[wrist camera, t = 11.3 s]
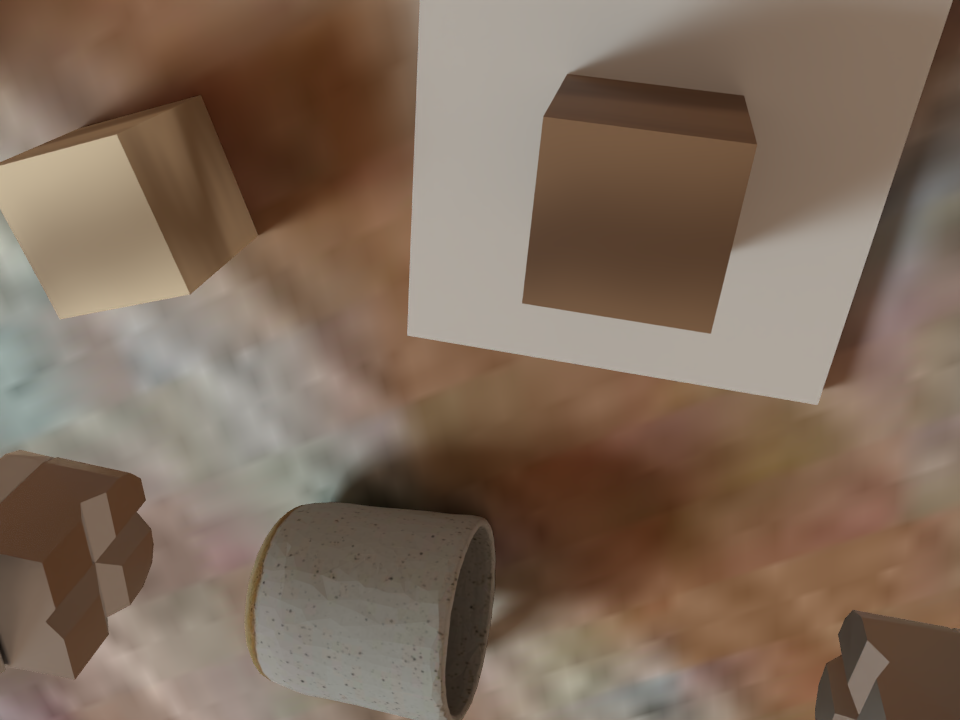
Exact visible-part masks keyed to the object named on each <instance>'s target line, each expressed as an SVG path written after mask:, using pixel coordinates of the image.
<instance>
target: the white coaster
mask: <svg viewBox="0 0 960 720" xmlns="http://www.w3.org/2000/svg"><path fill="white" fill-rule="evenodd" d="M952 1H953V0H420V11H419V37H418V64H417V91H416V117H415V144H414V170H413V197H412V223H411V250H410V276H409V303H408V329H407V335H408V336H414V337H420V338H426V339H431V340H437V341H443V342H449V343H455V344H461V345H467V346H473V347H479V348H485V349H490V350H496V351H502V352H508V353H514V354H520V355H526V356H532V357H538V358H544V359H550V360H555V361H561V362H567V363H573V364H579V365H585V366H591V367H597V368H603V369H609V370H614V371H620V372H626V373H632V374H638V375H644V376H650V377H656V378H662V379H668V380H674V381H679V382H685V383H691V384H697V385H703V386H709V387H715V388H721V389H727V390H733V391H738V392H744V393H750V394H756V395H762V396H768V397H774V398H780V399H786V400H792V401H797V402H803V403H809V404H815V405H818V402H819V399H820V396H821V393H822V390H823V387H824V384H825V381H826V378H827V375H828V372H829V369H830V366H831V363H832V360H833V357H834V354H835V351H836V348H837V345H838V342H839V339H840V336H841V333H842V330H843V327H844V324H845V321H846V318H847V315H848V312H849V309H850V306H851V303H852V300H853V297H854V294H855V291H856V288H857V285H858V282H859V279H860V276H861V274H862V271H863V268H864V265H865V262H866V259H867V256H868V253H869V250H870V247H871V244H872V241H873V238H874V235H875V232H876V229H877V226H878V223H879V220H880V217H881V214H882V211H883V208H884V205H885V202H886V199H887V196H888V193H889V190H890V187H891V184H892V181H893V178H894V175H895V172H896V169H897V166H898V163H899V160H900V157H901V154H902V151H903V148H904V145H905V142H906V139H907V136H908V133H909V130H910V127H911V124H912V121H913V118H914V115H915V112H916V109H917V106H918V103H919V100H920V97H921V94H922V91H923V88H924V85H925V82H926V79H927V76H928V73H929V70H930V67H931V64H932V61H933V58H934V55H935V52H936V49H937V46H938V43H939V40H940V37H941V34H942V31H943V28H944V25H945V22H946V19H947V16H948V13H949V10H950V7H951V4H952ZM567 74H573V75H581V76H589V77H597V78H606V79H614V80H622V81H630V82H638V83H646V84H654V85H662V86H670V87H678V88H687V89H695V90H703V91H711V92H719V93H727V94H735V95H743V96H744V97H745V101H746V104H747V108H748V112H749V116H750V119H751V123H752V127H753V130H754V134H755V138H756V142H757V148H756V152H755V156H754V160H753V164H752V168H751V172H750V176H749V181H748V185H747V189H746V193H745V197H744V201H743V205H742V209H741V213H740V217H739V221H738V225H737V230H736V234H735V238H734V242H733V246H732V250H731V254H730V258H729V262H728V266H727V270H726V274H725V278H724V283H723V287H722V291H721V295H720V299H719V303H718V307H717V311H716V315H715V319H714V323H713V327H712V332H711V334H709V333H702V332H696V331H690V330H684V329H678V328H671V327H665V326H659V325H653V324H647V323H640V322H634V321H628V320H622V319H616V318H609V317H603V316H597V315H591V314H584V313H578V312H572V311H566V310H560V309H553V308H547V307H541V306H535V305H529V304H522V299H523V290H524V281H525V272H526V264H527V255H528V246H529V237H530V228H531V220H532V211H533V202H534V193H535V184H536V176H537V167H538V158H539V149H540V140H541V132H542V123H543V116H544V114H545V113H546V111H547V109H548V107H549V105H550V104H551V102H552V100H553V98H554V97H555V95H556V93H557V91H558V89H559V88H560V86H561V84H562V82H563V80H564V79H565V77H566V75H567Z"/></svg>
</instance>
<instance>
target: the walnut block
mask: <svg viewBox="0 0 960 720" xmlns="http://www.w3.org/2000/svg"><path fill="white" fill-rule="evenodd" d="M756 148H757V142H756V138H755V134H754V130H753V127H752V123H751V119H750V116H749V112H748V108H747V104H746V101H745V97H744V96H743V95H735V94H727V93H719V92H711V91H703V90H695V89H687V88H678V87H670V86H662V85H654V84H646V83H638V82H630V81H622V80H614V79H606V78H597V77H589V76H581V75H573V74H567V75H566V77H565V79H564V80H563V82H562V84H561V86H560V88H559V89H558V91H557V93H556V95H555V97H554V98H553V100H552V102H551V104H550V105H549V107H548V109H547V111H546V113H545V114H544V116H543V123H542V132H541V140H540V149H539V158H538V167H537V176H536V184H535V193H534V202H533V211H532V220H531V228H530V237H529V246H528V255H527V264H526V272H525V281H524V290H523V299H522V304H529V305H535V306H541V307H547V308H553V309H560V310H566V311H572V312H578V313H584V314H591V315H597V316H603V317H609V318H616V319H622V320H628V321H634V322H640V323H647V324H653V325H659V326H665V327H671V328H678V329H684V330H690V331H696V332H702V333H709V334H711V332H712V327H713V323H714V319H715V315H716V311H717V307H718V303H719V299H720V295H721V291H722V287H723V283H724V278H725V274H726V270H727V266H728V262H729V258H730V254H731V250H732V246H733V242H734V238H735V234H736V230H737V225H738V221H739V217H740V213H741V209H742V205H743V201H744V197H745V193H746V189H747V185H748V181H749V176H750V172H751V168H752V164H753V160H754V156H755V152H756Z"/></svg>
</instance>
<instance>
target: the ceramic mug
mask: <svg viewBox="0 0 960 720" xmlns="http://www.w3.org/2000/svg"><path fill="white" fill-rule="evenodd" d="M494 591H495V547H494V537H493V532H492V528H491V526H490V524H489V523H488V521H487V520H486V519H484V518H482V517H479V516H474V515H459V514H448V513H439V512H431V511H421V510H409V509H397V508H384V507H374V506H365V505H358V504H351V503H337V502H329V503H312V504H306V505H301V506H298V507H296V508H294V509H292V510H290V511H289V512H287V513H286V514H285V515H284V516H283V517H282V518H280V520H279V521H278V522H277V523H276V524H275V525H274V526H273V528H272V529H271V531H270V532H269V534H268V535H267V537H266V538H265V540H264V542H263V544H262V546H261V548H260V550H259V552H258V555H257V558H256V561H255V564H254V567H253V570H252V573H251V576H250V580H249V585H248V590H247V597H246V605H245V621H244V623H245V635H246V642H247V647H248V649H249V652H250V655H251V658H252V660H253V663H254V664H255V666H256V668H257V669H258V671H259V672H260V674H262V675H263V676H265V677H266V678H267V679H269V680H270V681H273V682H275V683H277V684H280V685H282V686H284V687H287V688H289V689H291V690H294V691H296V692H299V693H302V694H305V695H309V696H315V697H320V698H325V699H330V700H335V701H340V702H344V703H349V704H353V705H358V706H362V707H366V708H370V709H374V710H378V711H382V712H386V713H390V714H394V715H398V716H402V717H406V718H410V719H414V720H462V719H463V718H464V716H465V714H466V712H467V710H468V709H469V707H470V705H471V703H472V700H473V697H474V694H475V692H476V689H477V686H478V682H479V678H480V675H481V671H482V667H483V662H484V657H485V652H486V647H487V642H488V637H489V629H490V624H491V618H492V608H493V600H494Z"/></svg>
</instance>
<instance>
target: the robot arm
mask: <svg viewBox="0 0 960 720" xmlns="http://www.w3.org/2000/svg"><path fill="white" fill-rule="evenodd" d="M145 501H146V499H145V495H144V490H143V486H142V482H141V478H139V477H137V476H135V475H133V474H131V473H127V472H123V471H118V470H114V469H109V468H104V467H100V466H95V465H90V464H86V463H81V462H77V461H72V460H67V459H63V458H58V457H57V458H53V457H49V456H44V455H40V454H36V453H31V452H27V451H22V450H18V451H15V452H12V453H8V454H5V455H4V456H3V457H2V458H1V459H0V674H1V673H2V672H4V671H5V670H6V668H5V666H7V667H12V668H17V669H22V670H27V671H33V672H38V673H43V674H48V675H53V676H58V677H63V678H68V679H73V680H75V679H76V678H77V676H78V675H79V674H80V672H81V671H82V670H83V668H84V667H85V666H86V664H87V663H88V662H89V660H90V659H91V657H92V656H93V655H94V653H95V652H96V651H97V649H98V648H99V647H100V645H101V644H102V643H103V641H104V640H105V639H106V637H107V636H108V635H109V632H108V620H107V617H108V616H110V615H112V614H114V613H116V612H118V611H120V610H122V609H124V608H126V607H127V606H129V605H131V603H132V602H133V600H134V599H135V597H136V596H137V595H138V593H139V592H140V590H141V589H142V587H143V586H144V583H145V580H146V578H147V575H148V572H149V570H150V567H151V564H152V558H153V546H154V544H153V538H152V531H151V528H150V527H149V526H148V525H147V523H146V522H145V521H144V520H143V519H142V518H141V516H140V515H139V514H138V513H137V511H138V509H139V508H140V507H141V506H142V504H143V503H144V502H145ZM838 637H839V642H840V647H841V652H842V655H840V656H839V657H837V658H835V659H833V660H831V661H829V662H828V663H826V666H825V669H824V672H823V674H822V677H821V680H820V683H819V686H818V693H817V700H816V707H815V720H960V629H957V628H953V629H950V628H948V627H944V626H938V625H933V624H927V623H922V622H916V621H911V620H905V619H900V618H894V617H889V616H883V615H878V614H872V613H867V612H861V611H856V610H852V611H851V613H850V614H849V615H848V616H847V617H846V618H845V620H844V622H843V625H842V627H841V629H840V632H839V634H838Z"/></svg>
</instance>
